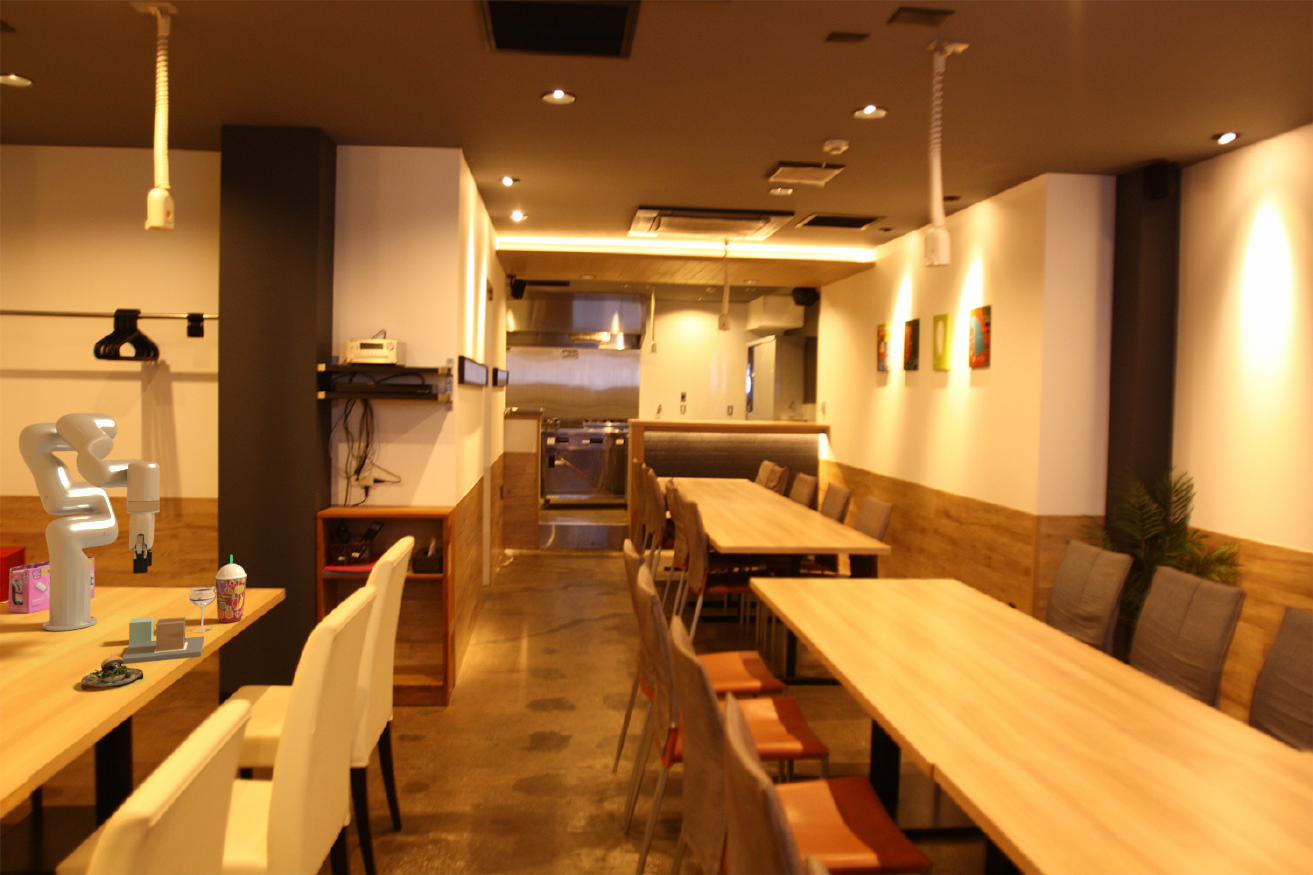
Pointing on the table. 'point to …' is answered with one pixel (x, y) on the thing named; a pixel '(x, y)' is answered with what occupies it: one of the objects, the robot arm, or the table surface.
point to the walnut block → (170, 634)
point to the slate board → (148, 651)
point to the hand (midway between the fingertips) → (142, 569)
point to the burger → (111, 674)
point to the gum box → (33, 587)
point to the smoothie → (230, 592)
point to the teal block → (141, 629)
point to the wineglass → (202, 601)
